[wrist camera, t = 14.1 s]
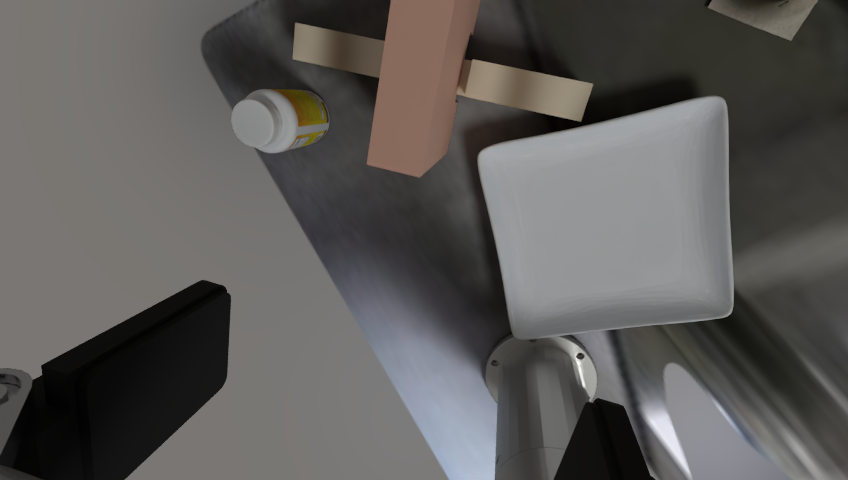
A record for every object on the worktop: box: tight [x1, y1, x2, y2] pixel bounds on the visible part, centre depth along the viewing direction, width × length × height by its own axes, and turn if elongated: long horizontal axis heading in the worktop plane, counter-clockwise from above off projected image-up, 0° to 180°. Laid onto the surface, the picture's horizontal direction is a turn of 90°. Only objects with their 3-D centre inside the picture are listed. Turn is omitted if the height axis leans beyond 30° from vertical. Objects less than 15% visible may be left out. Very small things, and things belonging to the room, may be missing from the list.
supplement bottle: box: [231, 89, 330, 153], centre depth 39 cm, size 6×6×10 cm
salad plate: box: [477, 96, 734, 340], centre depth 40 cm, size 21×21×3 cm
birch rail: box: [293, 23, 593, 122], centre depth 37 cm, size 26×3×5 cm, turn 78°
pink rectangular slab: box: [367, 0, 480, 177], centre depth 33 cm, size 16×4×14 cm, turn 168°
